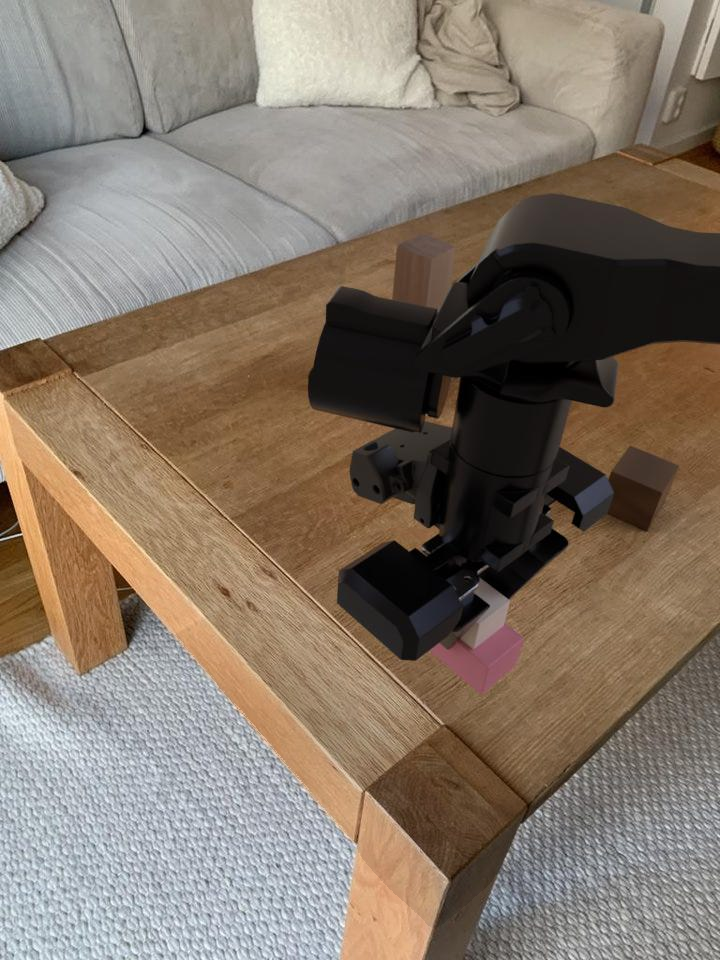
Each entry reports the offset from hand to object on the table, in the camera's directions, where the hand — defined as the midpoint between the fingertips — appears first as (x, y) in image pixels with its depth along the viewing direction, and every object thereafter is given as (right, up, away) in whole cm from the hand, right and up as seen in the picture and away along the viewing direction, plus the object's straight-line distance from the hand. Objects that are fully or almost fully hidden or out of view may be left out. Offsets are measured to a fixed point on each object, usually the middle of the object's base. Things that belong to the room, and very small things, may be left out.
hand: (464, 628), depth 54 cm
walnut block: (+20, +7, +27) cm, 34 cm away
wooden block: (0, +21, +41) cm, 46 cm away
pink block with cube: (0, -1, +1) cm, 2 cm away
